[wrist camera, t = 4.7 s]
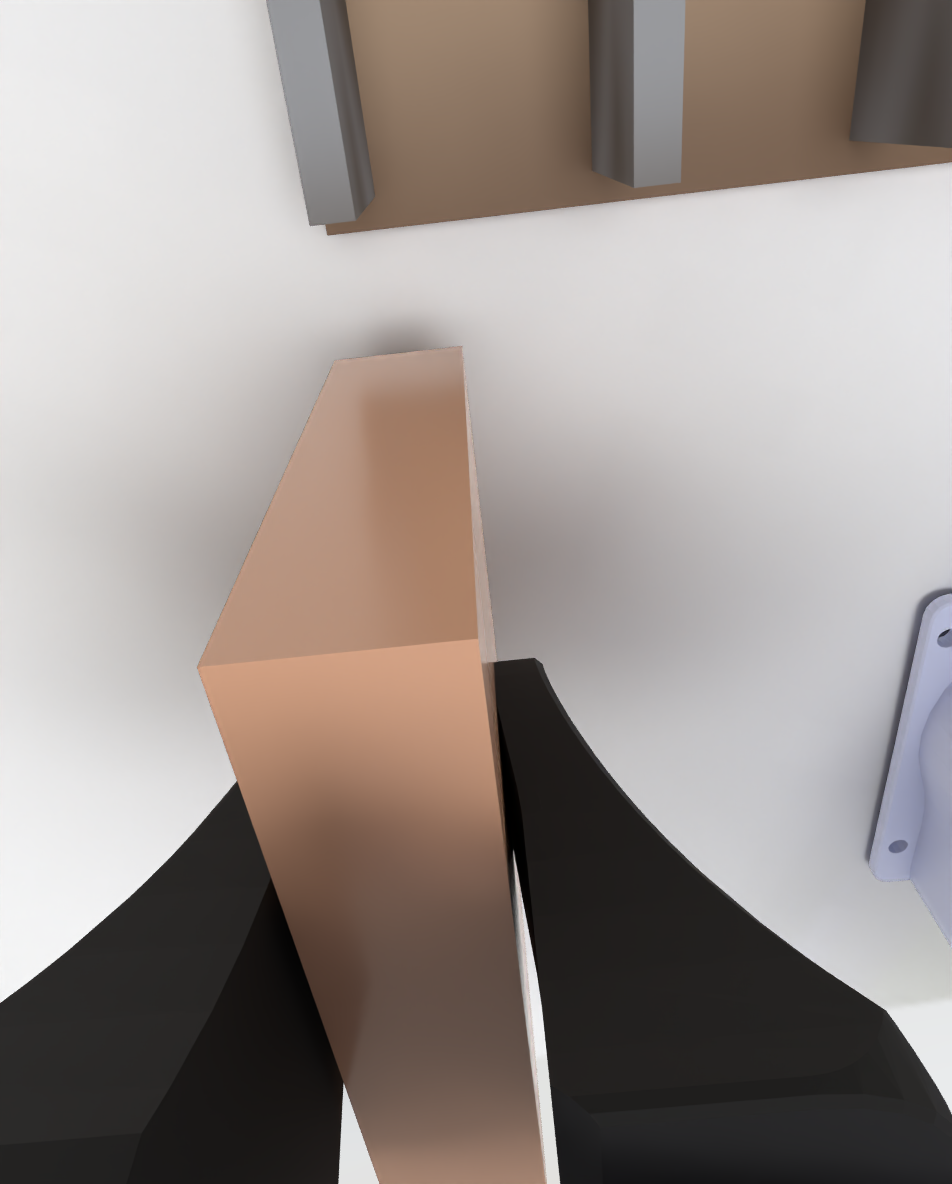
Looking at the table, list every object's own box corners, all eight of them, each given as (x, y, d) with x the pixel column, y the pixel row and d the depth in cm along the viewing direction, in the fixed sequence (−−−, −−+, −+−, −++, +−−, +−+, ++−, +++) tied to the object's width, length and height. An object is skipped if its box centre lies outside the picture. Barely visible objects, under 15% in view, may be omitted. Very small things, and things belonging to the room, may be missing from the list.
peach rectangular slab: (509, 771, 17) (549, 1214, 10) (416, 780, 17) (394, 1227, 10) (462, 346, 12) (478, 639, 6) (334, 360, 13) (197, 666, 6)
